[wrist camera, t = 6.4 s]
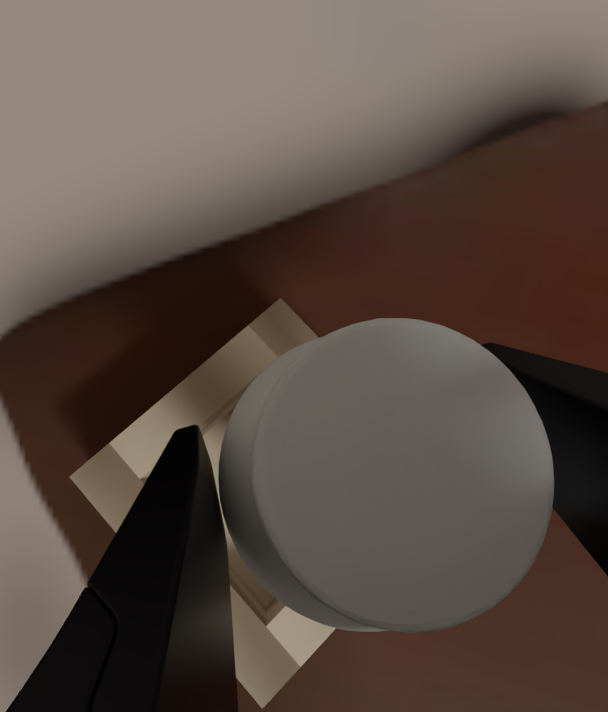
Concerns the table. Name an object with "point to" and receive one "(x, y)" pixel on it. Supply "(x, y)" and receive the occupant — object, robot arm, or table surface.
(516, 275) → the table surface
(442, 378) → the supplement bottle
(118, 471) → the holder
